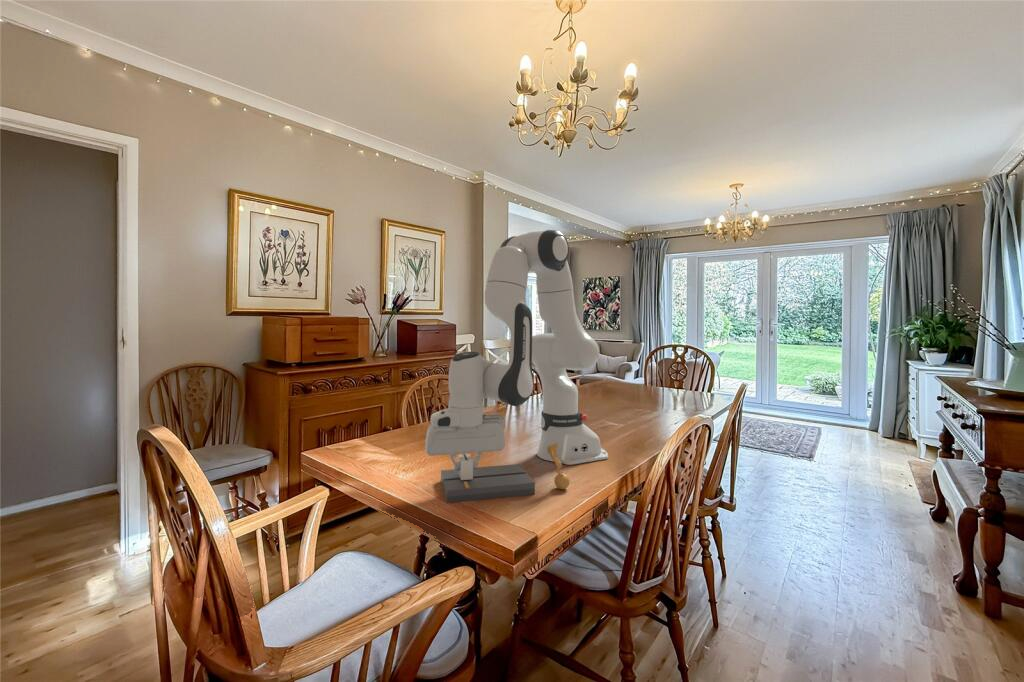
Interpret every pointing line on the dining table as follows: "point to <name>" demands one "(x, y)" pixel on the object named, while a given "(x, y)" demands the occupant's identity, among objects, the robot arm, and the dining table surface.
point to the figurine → (561, 478)
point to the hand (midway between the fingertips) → (465, 469)
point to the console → (487, 483)
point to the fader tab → (466, 467)
